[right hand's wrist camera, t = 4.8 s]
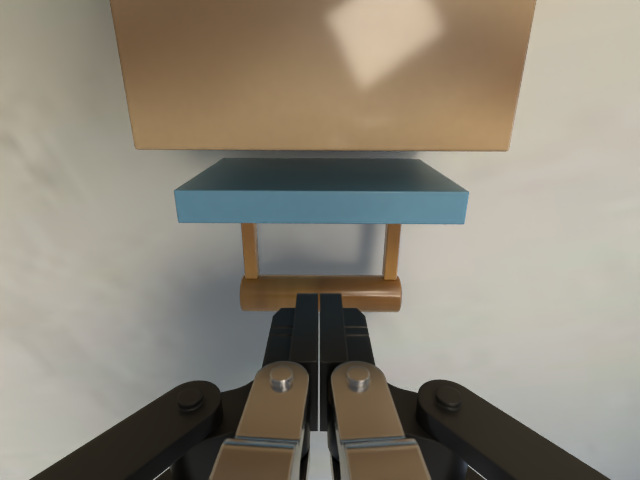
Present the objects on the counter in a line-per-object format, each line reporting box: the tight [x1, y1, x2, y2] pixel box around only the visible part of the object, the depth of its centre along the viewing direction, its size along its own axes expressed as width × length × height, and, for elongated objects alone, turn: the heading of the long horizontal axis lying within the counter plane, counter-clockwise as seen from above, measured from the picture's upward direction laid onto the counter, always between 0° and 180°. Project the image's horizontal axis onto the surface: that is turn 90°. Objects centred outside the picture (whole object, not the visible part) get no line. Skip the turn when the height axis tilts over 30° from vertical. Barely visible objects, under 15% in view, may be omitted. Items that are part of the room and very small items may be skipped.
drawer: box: [174, 158, 469, 312], centre depth 15 cm, size 21×10×7 cm, turn 0°
